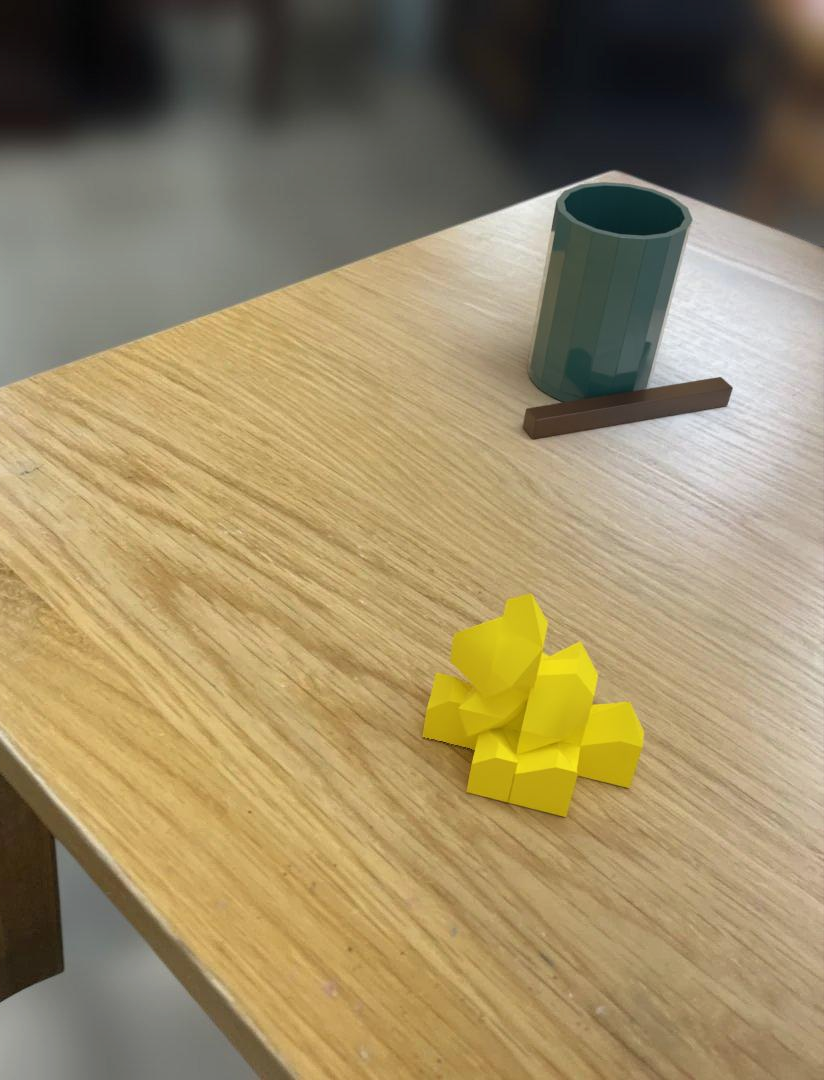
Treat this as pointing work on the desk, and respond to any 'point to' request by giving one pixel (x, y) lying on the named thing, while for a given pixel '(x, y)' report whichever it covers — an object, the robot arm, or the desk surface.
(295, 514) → the desk surface
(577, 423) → the strip
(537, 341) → the cup
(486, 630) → the yellow faceted cluster
